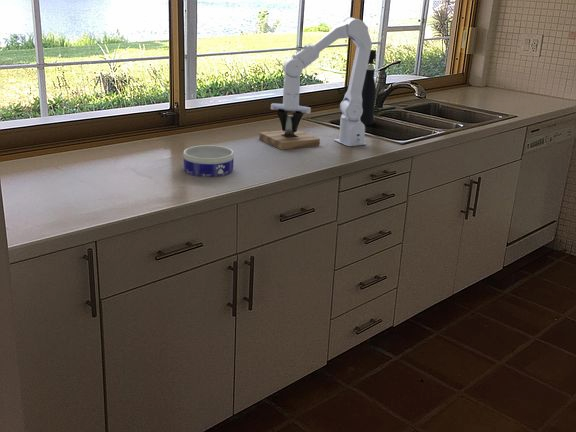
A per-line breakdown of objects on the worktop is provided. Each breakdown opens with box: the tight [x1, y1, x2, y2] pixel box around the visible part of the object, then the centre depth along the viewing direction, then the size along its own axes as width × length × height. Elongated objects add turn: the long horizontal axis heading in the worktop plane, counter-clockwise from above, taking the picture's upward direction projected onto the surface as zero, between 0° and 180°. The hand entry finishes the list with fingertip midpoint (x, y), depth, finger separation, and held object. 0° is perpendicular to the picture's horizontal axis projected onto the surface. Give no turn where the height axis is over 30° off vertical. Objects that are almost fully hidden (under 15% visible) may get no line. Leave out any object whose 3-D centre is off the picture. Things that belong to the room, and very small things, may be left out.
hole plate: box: [258, 128, 321, 151], centre depth 232 cm, size 16×16×2 cm
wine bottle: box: [360, 49, 377, 126], centre depth 263 cm, size 6×6×30 cm
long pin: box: [284, 114, 295, 138], centre depth 231 cm, size 4×4×9 cm
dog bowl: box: [182, 144, 235, 178], centre depth 196 cm, size 15×15×6 cm
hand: (289, 131), depth 231 cm, fingers closed on long pin, 4 cm apart
